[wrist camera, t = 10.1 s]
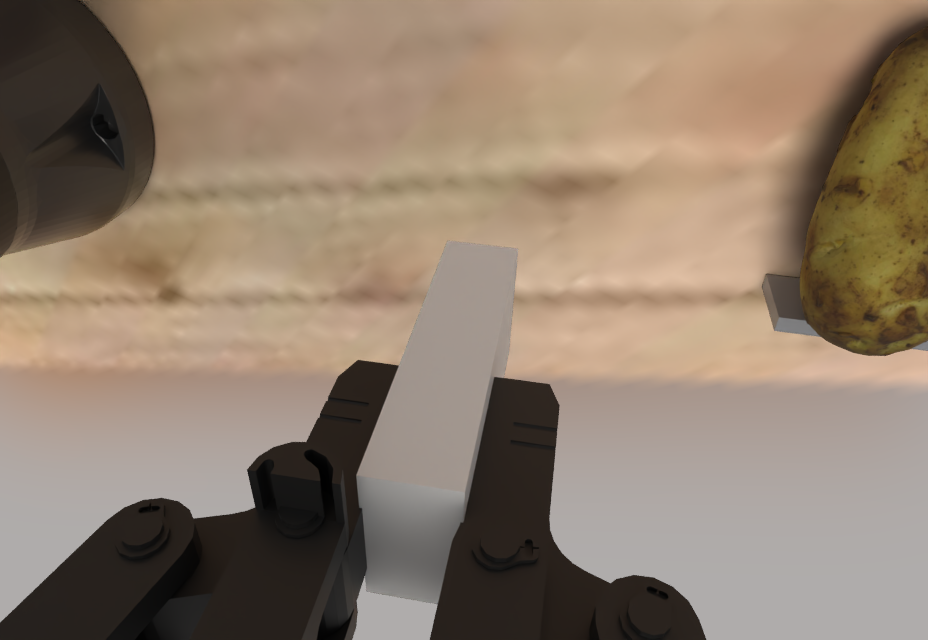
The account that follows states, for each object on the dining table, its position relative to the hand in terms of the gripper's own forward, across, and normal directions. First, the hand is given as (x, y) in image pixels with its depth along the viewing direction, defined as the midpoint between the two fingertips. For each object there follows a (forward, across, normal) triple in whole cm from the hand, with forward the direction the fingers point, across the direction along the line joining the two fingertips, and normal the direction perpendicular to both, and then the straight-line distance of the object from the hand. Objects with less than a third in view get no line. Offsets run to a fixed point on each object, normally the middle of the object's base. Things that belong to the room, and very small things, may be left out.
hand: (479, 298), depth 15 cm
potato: (+21, +16, -4) cm, 27 cm away
